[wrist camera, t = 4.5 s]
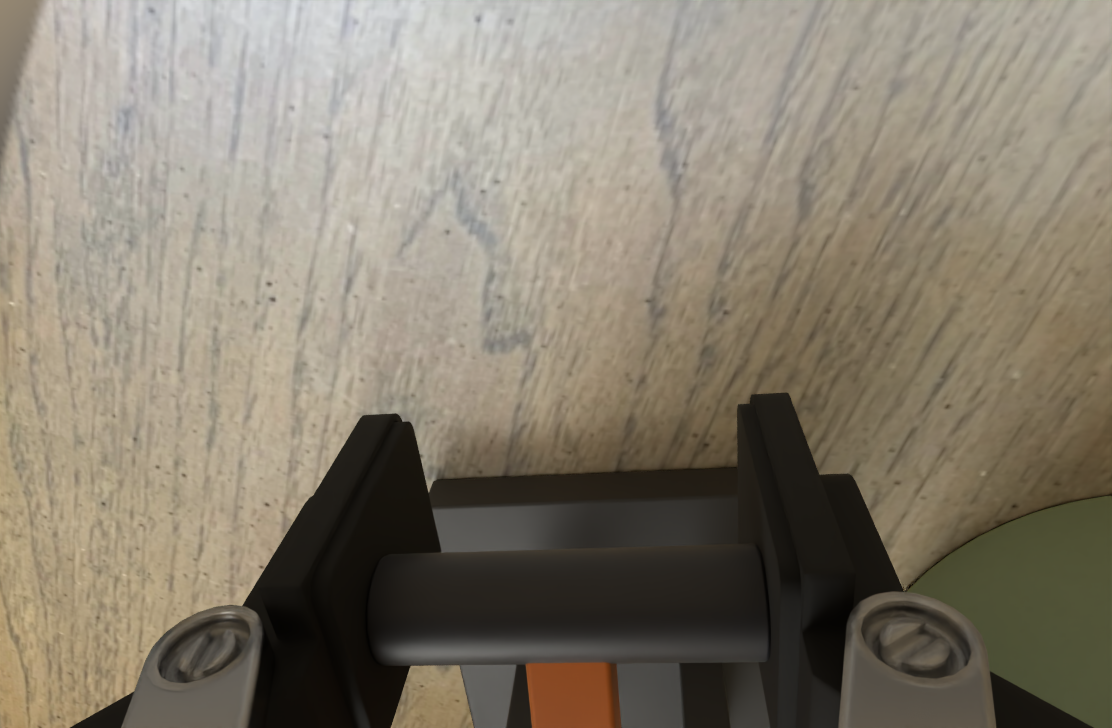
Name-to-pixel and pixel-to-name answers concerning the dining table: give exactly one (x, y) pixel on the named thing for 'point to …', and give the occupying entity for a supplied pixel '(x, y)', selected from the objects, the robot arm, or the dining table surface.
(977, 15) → the dining table surface
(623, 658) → the orange pivot lever
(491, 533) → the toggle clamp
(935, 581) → the green canister
